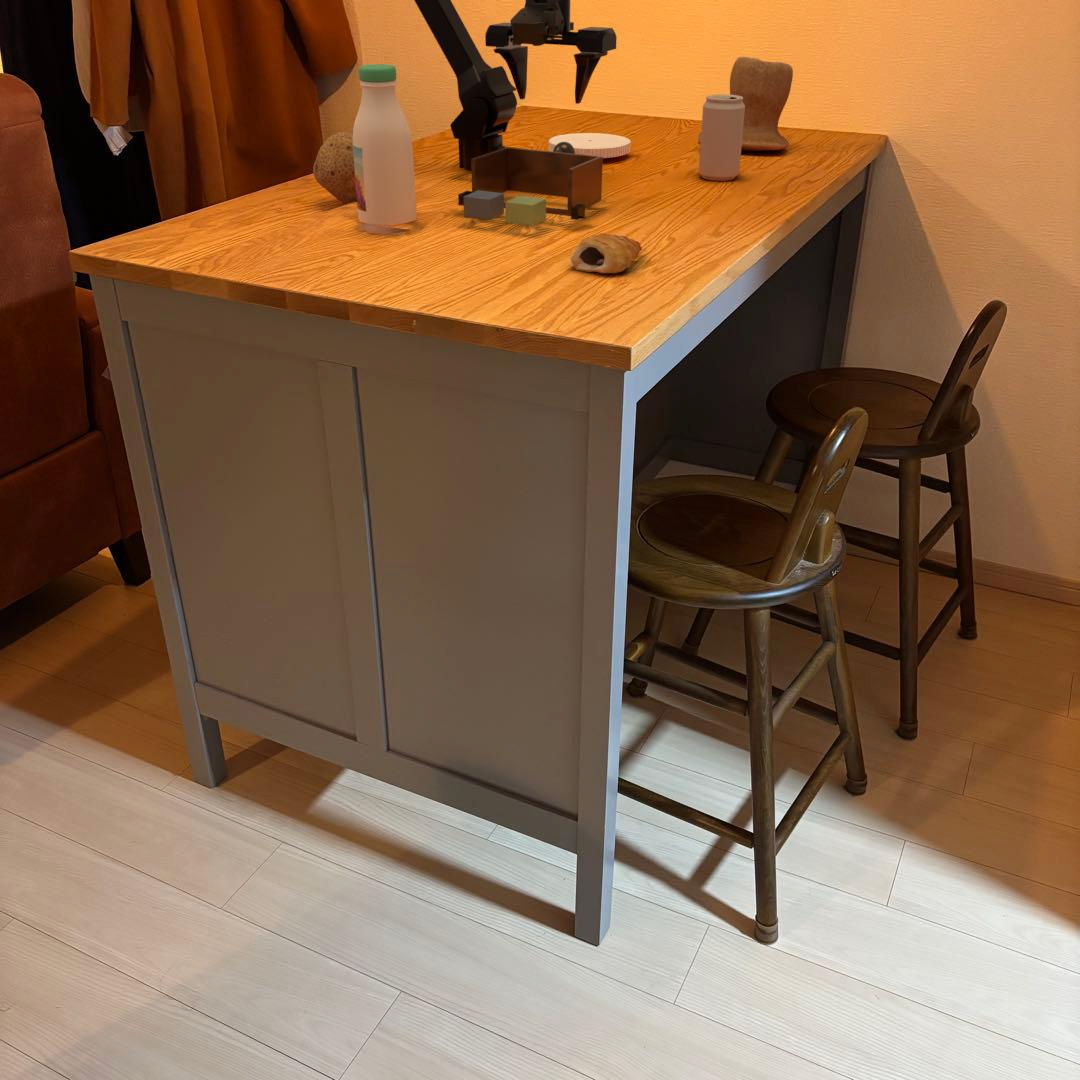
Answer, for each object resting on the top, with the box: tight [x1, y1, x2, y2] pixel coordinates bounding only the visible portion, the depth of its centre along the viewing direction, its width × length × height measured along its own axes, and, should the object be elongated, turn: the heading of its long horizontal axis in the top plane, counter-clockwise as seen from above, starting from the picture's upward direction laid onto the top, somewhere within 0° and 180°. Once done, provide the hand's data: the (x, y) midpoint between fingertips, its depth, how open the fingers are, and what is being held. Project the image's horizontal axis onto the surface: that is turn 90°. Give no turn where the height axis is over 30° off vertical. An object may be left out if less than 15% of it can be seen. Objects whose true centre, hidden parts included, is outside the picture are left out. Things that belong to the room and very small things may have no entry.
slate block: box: [463, 190, 505, 221], centre depth 144 cm, size 4×4×4 cm
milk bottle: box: [352, 63, 418, 235], centre depth 138 cm, size 8×8×20 cm
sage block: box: [504, 195, 547, 227], centre depth 141 cm, size 4×4×4 cm
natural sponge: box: [312, 131, 357, 205], centre depth 151 cm, size 9×9×10 cm
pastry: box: [570, 233, 642, 274], centre depth 128 cm, size 9×7×4 cm
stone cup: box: [697, 56, 794, 152], centre depth 186 cm, size 15×12×15 cm
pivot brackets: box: [457, 190, 587, 221], centre depth 146 cm, size 19×2×3 cm, turn 64°
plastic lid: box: [548, 132, 632, 159], centre depth 183 cm, size 14×14×2 cm
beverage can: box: [698, 93, 745, 182], centre depth 167 cm, size 6×6×12 cm
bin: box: [471, 142, 604, 217], centre depth 151 cm, size 15×15×8 cm
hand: (549, 101), depth 160 cm, fingers open, 9 cm apart
